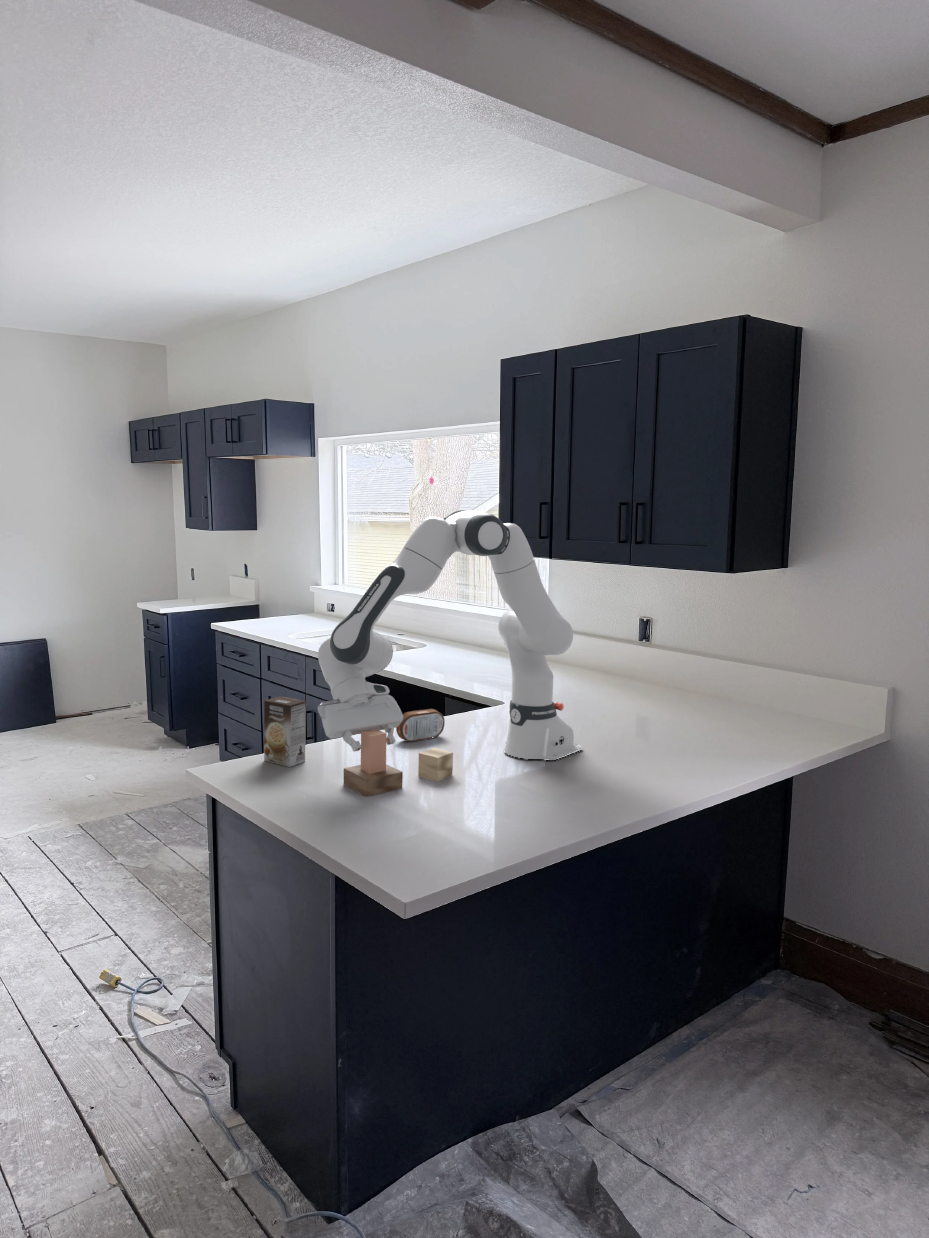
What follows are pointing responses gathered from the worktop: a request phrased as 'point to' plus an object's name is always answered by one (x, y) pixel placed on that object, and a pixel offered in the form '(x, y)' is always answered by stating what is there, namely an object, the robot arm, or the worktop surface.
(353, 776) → the walnut block
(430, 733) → the tin
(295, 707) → the coffee box
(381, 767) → the terracotta block
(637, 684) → the worktop surface
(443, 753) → the oak cube
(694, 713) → the worktop surface
